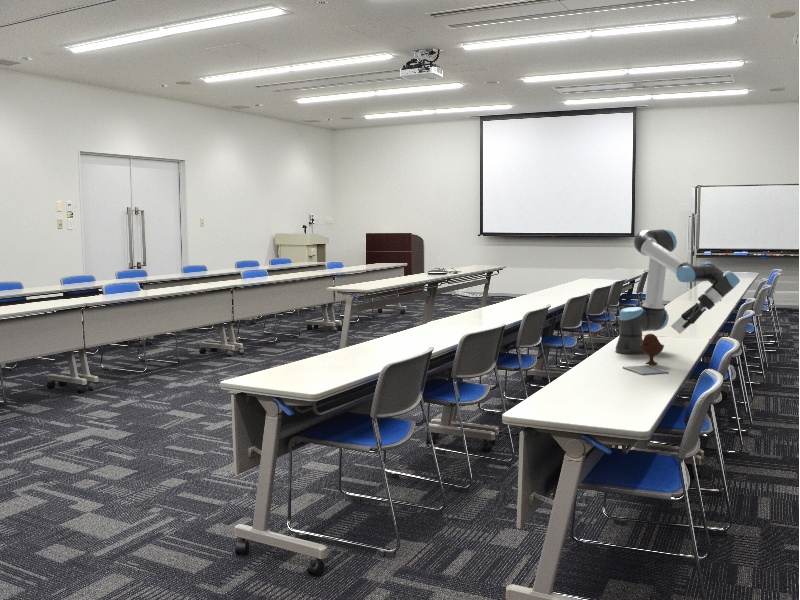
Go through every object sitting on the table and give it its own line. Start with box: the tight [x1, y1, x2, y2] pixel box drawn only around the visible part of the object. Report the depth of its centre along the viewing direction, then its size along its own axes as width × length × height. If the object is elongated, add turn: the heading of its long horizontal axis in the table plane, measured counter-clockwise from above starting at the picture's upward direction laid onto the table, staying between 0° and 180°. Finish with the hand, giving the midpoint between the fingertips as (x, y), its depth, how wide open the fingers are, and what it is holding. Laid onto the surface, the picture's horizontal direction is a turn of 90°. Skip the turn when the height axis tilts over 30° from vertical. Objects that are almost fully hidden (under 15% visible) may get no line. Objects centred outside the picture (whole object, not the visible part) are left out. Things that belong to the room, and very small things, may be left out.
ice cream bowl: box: [640, 333, 665, 366], centre depth 343 cm, size 11×11×15 cm
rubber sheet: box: [622, 364, 670, 376], centre depth 328 cm, size 17×13×1 cm
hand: (675, 330), depth 339 cm, fingers open, 13 cm apart
